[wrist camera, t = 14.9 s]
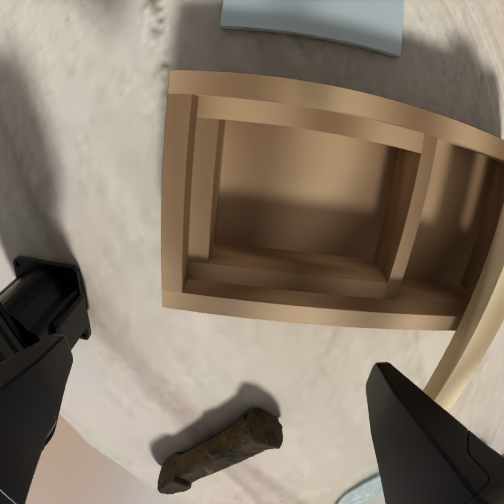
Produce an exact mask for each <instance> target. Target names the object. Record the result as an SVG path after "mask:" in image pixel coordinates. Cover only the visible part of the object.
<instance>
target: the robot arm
mask: <svg viewBox="0 0 504 504" xmlns="http://www.w3.org/2000/svg"><path fill="white" fill-rule="evenodd" d="M13 263H14V268H15V272H16V277H17V278H16V279H14V280H13V281H12V282H11V283H10V284H9V285H8V286H7V287H5V288H4V289H3V290H2V291H1V292H0V504H25V502H26V498H27V495H28V492H29V488H30V485H31V482H32V479H33V475H34V473H35V469H36V467H37V464H38V461H39V458H40V455H41V452H42V451H43V449H44V447H45V445H47V443H48V442H49V441H50V439H51V438H52V436H53V434H54V431H55V428H56V424H57V420H58V415H59V411H60V407H61V402H62V398H63V394H64V390H65V386H66V382H67V379H68V376H69V373H70V370H71V367H72V363H73V356H72V353H71V350H72V348H73V347H74V345H75V344H76V342H77V341H78V339H79V338H80V339H84V340H87V339H89V337H90V335H91V331H90V327H89V318H88V313H87V307H86V302H85V297H84V295H83V290H82V284H81V277H80V272H79V269H78V268H77V267H76V266H73V265H68V264H62V263H56V262H50V261H44V260H38V259H32V258H27V257H21V256H18V257H16V258H15V259H14V261H13ZM71 271H72V272H73V273H74V274H73V273H72V272H71ZM366 395H367V403H368V411H369V420H370V429H371V435H372V440H373V445H374V449H375V454H376V458H377V463H378V468H379V472H380V477H381V482H382V487H383V493H384V498H385V503H386V504H504V457H503V456H501V455H500V454H499V453H497V452H496V451H494V450H493V449H492V448H490V447H489V446H488V445H486V444H485V443H484V442H483V441H481V440H480V439H479V438H478V437H477V436H475V435H474V434H473V433H472V432H471V431H468V429H467V428H466V427H465V426H463V425H462V424H461V423H460V422H459V421H458V420H456V419H455V418H454V417H453V416H452V415H450V414H449V413H448V412H447V411H446V410H445V409H443V408H442V407H441V406H440V405H439V404H437V403H436V402H435V401H434V400H433V399H432V398H430V397H429V396H428V395H427V394H426V393H424V392H423V391H422V390H421V389H420V388H419V387H417V386H416V385H415V384H414V383H413V382H411V381H410V380H409V379H408V378H407V377H406V376H404V375H403V374H402V373H401V372H400V371H398V370H397V369H396V368H395V367H394V366H392V365H391V364H390V363H388V362H379V363H375V364H374V366H373V368H372V370H371V373H370V375H369V378H368V380H367V383H366Z"/></svg>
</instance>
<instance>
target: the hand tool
mask: <svg viewBox="0 0 504 504" xmlns="http://www.w3.org/2000/svg"><path fill="white" fill-rule="evenodd" d="M282 442H283V434H282V425H281V424H280V423H279V420H278V418H277V417H276V416H273V415H272V414H270V413H269V412H267V411H265V410H263V409H260V408H252V409H251V410H250V412H249V415H242V416H241V417H240V420H239V421H238V422H237V423H236V424H235V425H233V426H232V427H230V428H228V429H226V430H225V431H223V432H222V433H220V434H219V435H217V436H215V437H213V438H211V439H207V440H206V441H205V442H204V443H202V444H199V445H198V446H197V447H195V448H193V449H191V450H189V451H187V452H185V453H181V452H176V453H174V454H173V455H171V456H170V457H169V458H168V459H167V460H166V462H165V463H164V464H163V466H162V467H161V471H160V475H159V479H158V488H157V489H158V491H159V492H160V493H163V494H174V493H178V492H184V491H187V490H189V489H190V488H191V485H192V482H194V481H196V480H198V479H200V478H203V477H205V476H208V475H210V474H213V473H215V472H218V471H220V470H222V469H225V468H228V467H229V466H231V465H234V464H236V463H239V462H241V461H243V460H245V459H248V458H249V457H252V456H254V455H256V454H259V453H261V452H263V451H264V450H267V449H274V448H276V449H278V448H280V447H281V445H282Z"/></svg>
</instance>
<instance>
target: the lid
mask: <svg viewBox="0 0 504 504" xmlns="http://www.w3.org/2000/svg"><path fill="white" fill-rule="evenodd" d="M403 8H404V0H223V6H222V13H221V20H220V27H221V29H241V30H254V31H265V32H274V33H283V34H291V35H298V36H304V37H310V38H316V39H322V40H327V41H332V42H337V43H342V44H347V45H351V46H355V47H360V48H364V49H368V50H371V51H375V52H379V53H383V54H386V55H390V56H393V57H396V58H397V57H399V56H401V47H402V31H403Z"/></svg>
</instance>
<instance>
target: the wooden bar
mask: <svg viewBox="0 0 504 504" xmlns="http://www.w3.org/2000/svg"><path fill="white" fill-rule="evenodd" d="M503 320H504V204H503V208H502V211H501V215H500V218H499V222H498V225H497V228H496V232H495V235H494V238H493V241H492V244H491V247H490V250H489V253H488V256H487V259H486V261H485V264H484V267H483V270H482V272H481V275H480V277H479V280H478V282H477V285H476V287H475V290H474V292H473V295H472V297H471V299H470V302H469V304H468V306H467V308H466V311H465V313H464V315H463V317H462V319H461V321H460V324H459V326H458V328H457V330H456V332H455V334H454V336H453V338H452V340H451V342H450V344H449V346H448V348H447V349H446V351H445V353H444V355H443V357H442V359H441V361H440V362H439V364H438V366H437V368H436V370H435V371H434V373H433V375H432V376H431V378H430V380H429V382H428V383H427V385H426V387H425V388H424V390H423V392H424V393H426V394H427V395H428V396H429V397H430V398H432V399H433V400H434V401H435V402H436V403H437V404H439V405H440V406H441V407H442V408H443V409H445V410H449V409H450V408H451V406H452V405H453V403H454V402H455V401H456V399H457V398H458V396H459V395H460V393H461V392H462V390H463V389H464V387H465V386H466V384H467V383H468V381H469V380H470V378H471V376H472V375H473V373H474V372H475V370H476V368H477V367H478V365H479V363H480V362H481V360H482V358H483V357H484V355H485V353H486V351H487V350H488V348H489V346H490V344H491V343H492V341H493V339H494V337H495V335H496V333H497V331H498V329H499V327H500V325H501V324H502V322H503Z"/></svg>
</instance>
